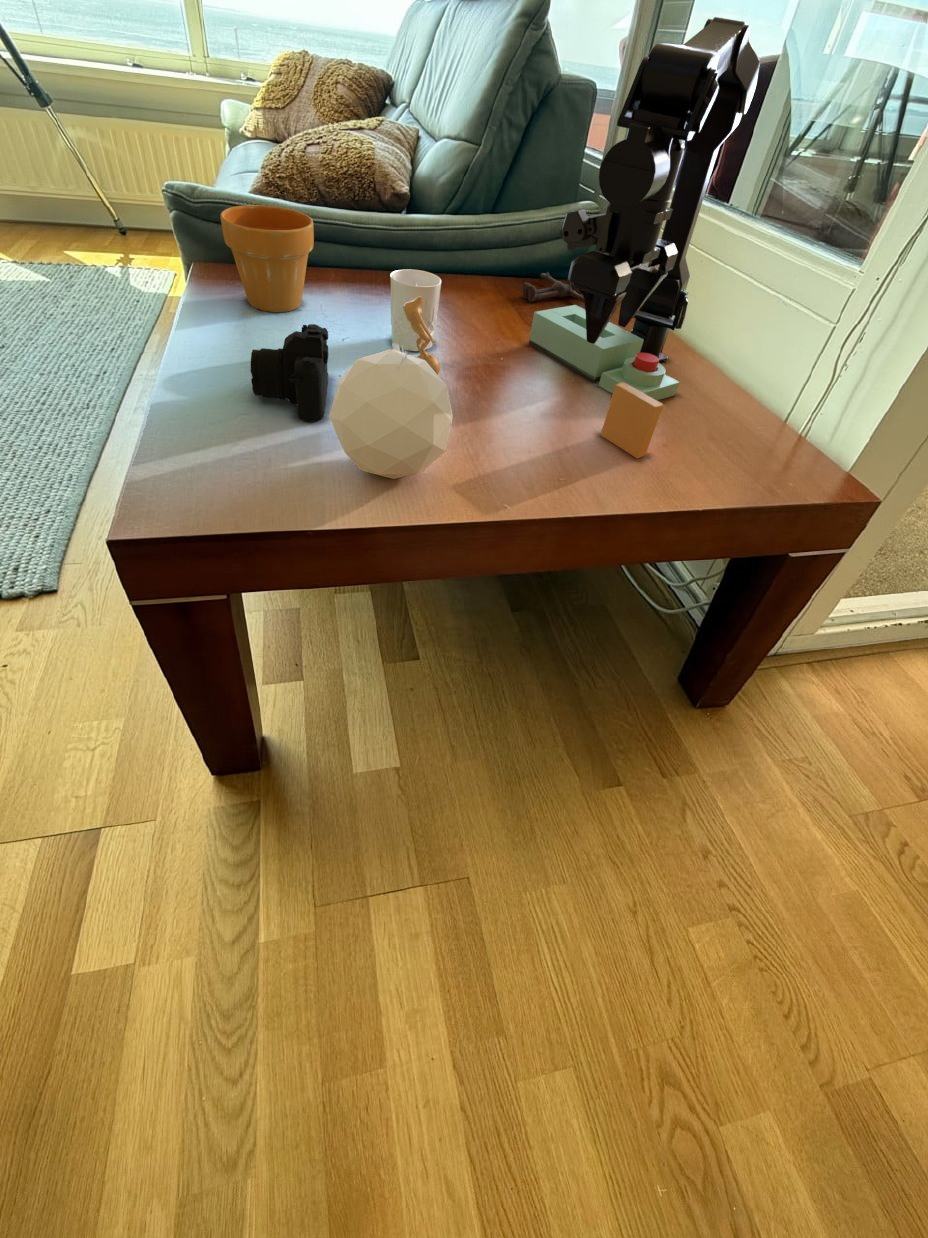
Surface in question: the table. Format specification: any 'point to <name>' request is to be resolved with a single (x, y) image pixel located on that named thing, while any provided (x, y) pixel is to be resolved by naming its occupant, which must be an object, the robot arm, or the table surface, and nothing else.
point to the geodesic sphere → (392, 413)
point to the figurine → (421, 331)
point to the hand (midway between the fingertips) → (606, 333)
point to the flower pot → (269, 253)
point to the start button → (646, 362)
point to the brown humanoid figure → (551, 290)
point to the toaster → (581, 342)
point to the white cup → (408, 289)
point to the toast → (631, 419)
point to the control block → (640, 380)
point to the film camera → (295, 372)
